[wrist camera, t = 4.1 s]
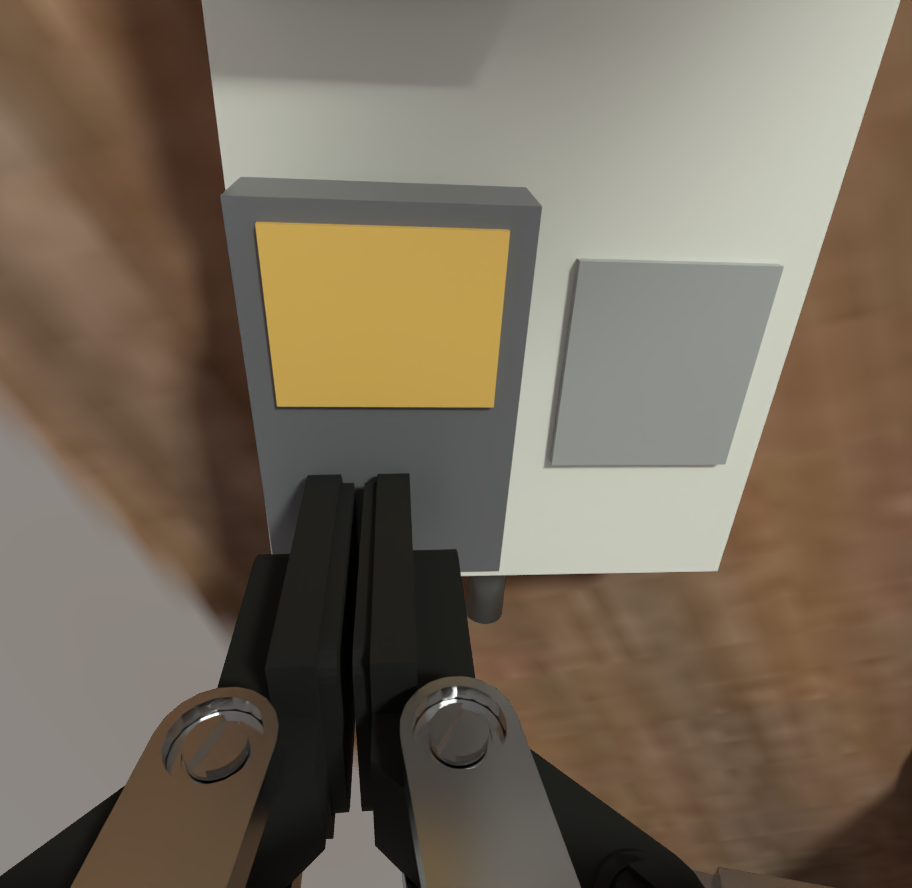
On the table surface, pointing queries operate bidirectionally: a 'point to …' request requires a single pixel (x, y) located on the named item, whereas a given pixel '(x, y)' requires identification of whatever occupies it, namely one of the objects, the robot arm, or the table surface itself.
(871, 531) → the table surface
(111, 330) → the table surface
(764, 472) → the table surface
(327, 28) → the power strip
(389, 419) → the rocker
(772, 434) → the table surface
